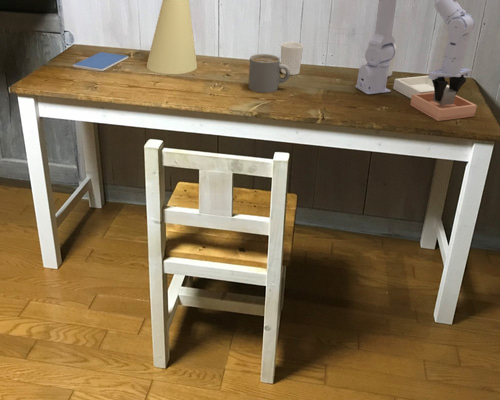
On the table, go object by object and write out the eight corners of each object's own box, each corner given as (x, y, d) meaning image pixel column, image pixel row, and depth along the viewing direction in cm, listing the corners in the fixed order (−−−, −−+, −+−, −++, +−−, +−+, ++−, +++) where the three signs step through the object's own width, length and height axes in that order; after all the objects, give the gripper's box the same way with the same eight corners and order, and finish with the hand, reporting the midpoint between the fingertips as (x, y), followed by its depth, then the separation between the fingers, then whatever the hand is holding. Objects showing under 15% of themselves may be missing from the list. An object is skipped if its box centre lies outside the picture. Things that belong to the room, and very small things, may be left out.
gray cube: (441, 105, 175) (444, 92, 173) (432, 100, 178) (435, 88, 176) (453, 103, 176) (456, 91, 174) (443, 99, 180) (446, 86, 178)
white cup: (277, 68, 209) (279, 41, 204) (298, 69, 210) (301, 42, 205) (280, 75, 202) (282, 47, 197) (302, 75, 203) (305, 48, 198)
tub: (418, 102, 184) (420, 92, 182) (393, 88, 195) (394, 78, 193) (452, 98, 189) (454, 88, 187) (426, 85, 200) (428, 75, 198)
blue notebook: (100, 54, 216) (100, 51, 216) (129, 58, 213) (129, 55, 213) (71, 68, 200) (71, 64, 200) (103, 73, 197) (102, 69, 197)
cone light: (190, 76, 197) (189, -31, 179) (140, 71, 199) (134, -35, 181) (205, 56, 218) (205, -41, 200) (159, 52, 220) (155, -45, 202)
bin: (438, 121, 170) (440, 110, 169) (410, 104, 182) (412, 94, 180) (474, 116, 175) (477, 105, 174) (444, 100, 186) (447, 90, 185)
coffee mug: (244, 90, 187) (246, 60, 182) (253, 81, 195) (254, 52, 190) (284, 95, 184) (286, 65, 179) (290, 86, 192) (293, 57, 187)
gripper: (443, 62, 164) (433, 106, 171) (482, 58, 169) (471, 101, 176) (427, 55, 170) (419, 98, 176) (465, 52, 175) (455, 94, 182)
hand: (444, 99), depth 177 cm, fingers closed on gray cube, 4 cm apart
